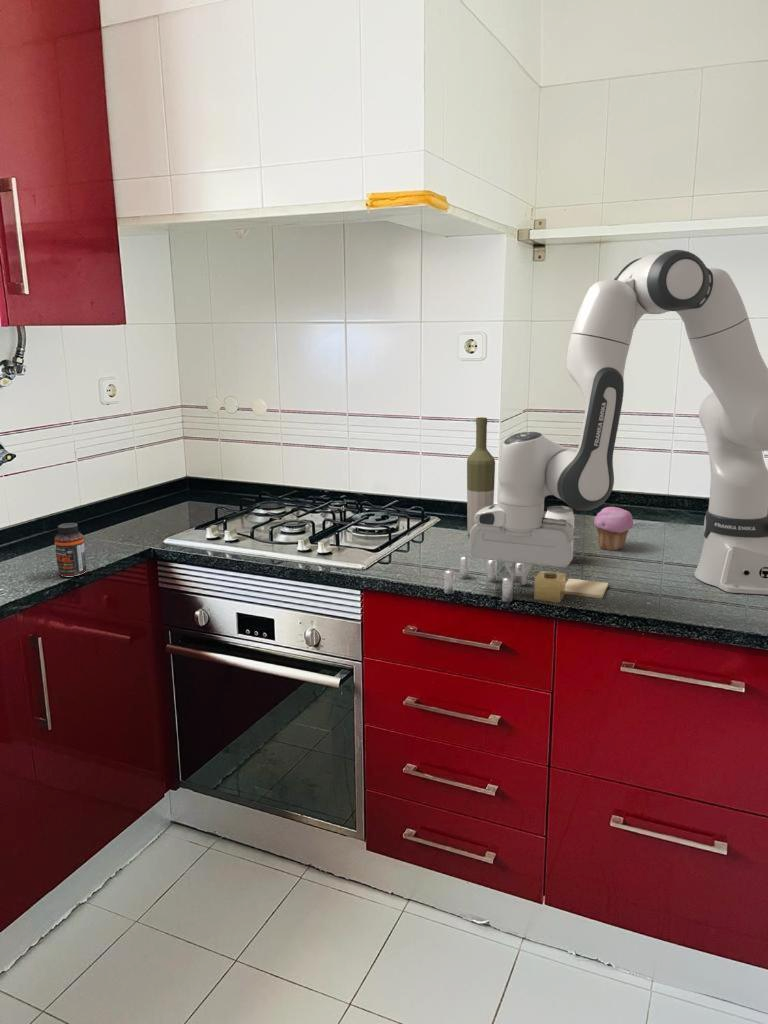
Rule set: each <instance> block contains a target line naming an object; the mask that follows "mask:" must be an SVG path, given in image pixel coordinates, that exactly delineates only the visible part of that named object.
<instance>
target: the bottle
mask: <svg viewBox="0 0 768 1024" xmlns="http://www.w3.org/2000/svg"><path fill="white" fill-rule="evenodd" d="M487 425H488V418H487V417H483V416H482V417H476V420H475V426H476V427H475V448H474V450H473V451H472V453H471V454H470V455H469V456H468V457H467V458H466V459H467V460H466V493H467V494H466V501H467V502H466V504H467V505H466V506H467V507H466V510H467V511H466V512H467V514H466V516H467V518H466V520H467V522H466V523H467V524H466V525H467V536H468V538H469V537H470V532H471V529H472V527H473V526H474V525H475V524H476V523H475V522H474V516H475V514H476V513H477V512H478V511H479V510H481V509H483V508H484V507H488V506H492V505H495V503H494V501H495V479H496V477H495V476H496V475H495V473H496V460H495V457H494V456H493V455H492V453H490V451H489V450H488V448H487V441H488V439H487V434H488V433H487V431H488V428H487V427H488V426H487Z"/></svg>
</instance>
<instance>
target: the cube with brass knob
mask: <svg viewBox="0 0 768 1024" xmlns="http://www.w3.org/2000/svg"><path fill="white" fill-rule="evenodd" d="M565 584H566V572H565V573H564V572H558V571H549V570H548V571H547V570H539V572H538V573H537V575H536V576H535V577H534V589H533V590H534V592H533V593H534V594H533V595H534V597H533V600H538V601H544V602H552V603H560V602H561V601H562V600H563V598H564V596H565V595H566V594H565Z"/></svg>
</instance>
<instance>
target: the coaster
mask: <svg viewBox="0 0 768 1024" xmlns="http://www.w3.org/2000/svg"><path fill="white" fill-rule="evenodd" d="M608 587H609V582H604V581H602V582H601V581H595V580H587V579H586V580H583V579H578V578H576V579H575V578H570V577H569V578H568V579H567V581H565V595H572V596H579V597H587V598H595V599H603V597H604V595H605V593H606V592H607V589H608Z"/></svg>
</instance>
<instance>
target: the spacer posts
mask: <svg viewBox="0 0 768 1024" xmlns="http://www.w3.org/2000/svg"><path fill="white" fill-rule="evenodd" d="M486 560H487V561H486V562H487V563H486V582H488V583H496V582H497V579H498V577H497V576H498V574H497V573H498V570H497V569H498V560H492V559H486ZM514 565H515V567H514V570H515V572H516V573H524V571H525V570H526V568H523V563H518V562H514ZM459 579H462V580H466V579H470V556H469V555H461V556H459ZM525 584H526V583H525ZM525 584H518V583H513V578H512V577H510V576H509V575H508V576H503V577H502V584H501V585H502V589H501V590H502V591H501V593H502V594H501V601H503V602H505V603H506V602H507V603H508V602H509V603H510V602H512V601H513V595H514V594H513V593H514V591H513V590H514V589H513V588H514V585H515V586H520V587H521V586H525ZM443 593H444V594H447V595H453V594H454V593H455V570H453V569H445V570H444V571H443Z"/></svg>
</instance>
